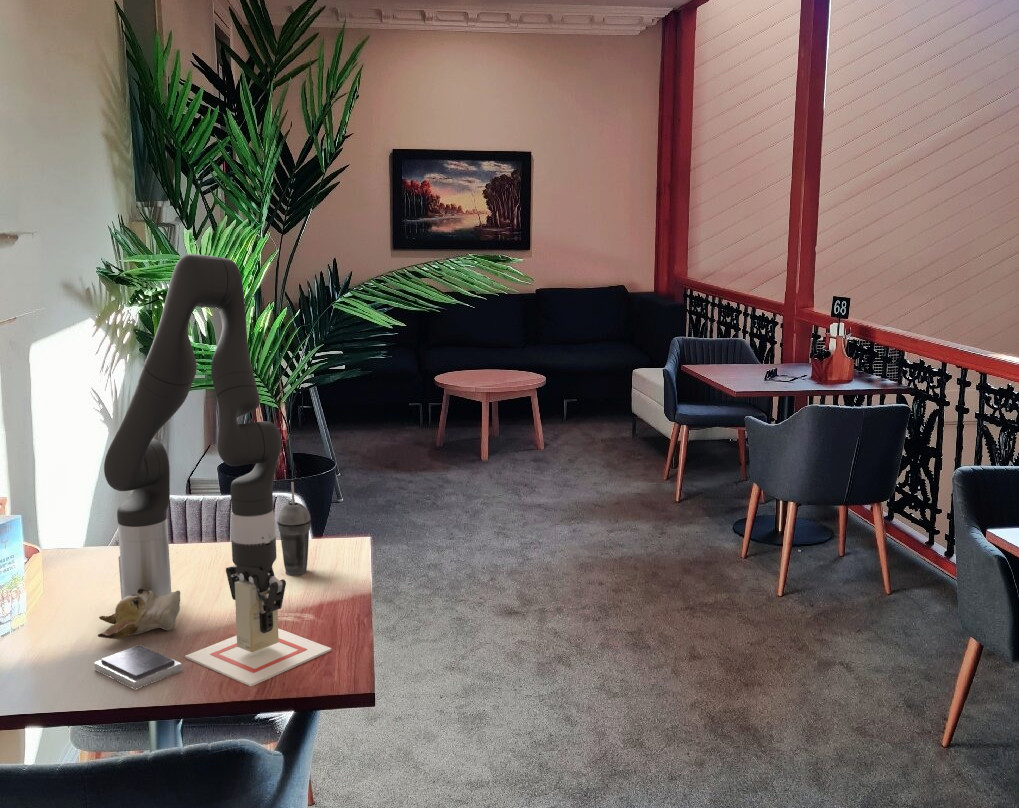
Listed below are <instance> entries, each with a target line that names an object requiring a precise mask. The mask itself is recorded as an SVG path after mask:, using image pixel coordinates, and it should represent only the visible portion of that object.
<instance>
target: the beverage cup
mask: <svg viewBox="0 0 1019 808" xmlns="http://www.w3.org/2000/svg"><path fill="white" fill-rule="evenodd" d="M290 485H291V502H290V503H287V504H285V505H284V506H283V507H282V508H280V511H279V513H278V516H277V521H276V524H277V528H278V531H279V532H278V533H279V534H280V543H281V544H280V545H281V551H282V560H283V565H284V570H285V574H286V575H287V576H293V577H295V576H298V577H299V576H302V575H305V574H306V573H307V572H308V571H307V569H308V559H309V539H310V530H311V524H312V523H311V522H312V519H311V514H310V511H309V510H308V509H307V507H306V506H305V505H304V504H302V503H299V502H296V501H295V485H294V481H291V484H290Z"/></svg>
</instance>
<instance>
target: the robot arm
mask: <svg viewBox="0 0 1019 808" xmlns="http://www.w3.org/2000/svg"><path fill="white" fill-rule="evenodd" d="M243 286H244V285H243V279H242V274H241V272H240V270H239V267H238V265H237V263H236V262H235V261H233V260H232V259H229V258H227V257H224V256H223V257H222V256H215V255H207V254H197V253H187V254H183V255H182V256H181V257H180V258H179V260H178V261H177V262H176V264H175V266H174V268H173V271H172V274H171V277H170V281H169V284H168V289H167V293H166V297H165V301H164V305H163V309H162V313H161V317H160V321H159V323H158V326H157V329H156V333H155V335H154V337H153V341H152V344H151V346H150V349H149V350H148V354H147V356H146V359H145V360H144V364H143V365H142V369H141V372H140V374H139V377H138V381H137V385H136V387H135V391H134V392H133V395H132V397H131V400H130V403H129V405H128V407H127V410H126V413H125V415H124V418H123V419H122V422H121V424H120V425H119V428H118V431H116V434H115V435H114V438H113V440H112V442H111V444H110V445H109V448H108V449H107V453H106V454H105V458H104V463H103V472H104V478H105V480H106V482H107V484H108V486H110V488H112V489H113V490H114V491H119V492H129V491H132V493H131V495H129V496H128V498H127V499H126V500H125V501H124V502H123V503H121V504H120V505H119V507H118V508H117V512H116V517H117V518H116V519H117V529H118V530H117V531H118V533H117V534H118V542H119V543H118V544H119V556H118V570H119V583H120V597H121V600H122V599H123V598H124V597H126V596H132V595H134V594H137V592H138V589H147V590H149V591H152V592H153V593H154V594H155V595H156V596H164V595H166V594H169V593H172V577H171V561H170V545H169V532H168V527H169V526H168V517H167V516H168V515H167V514H168V513H167V512H168V509H169V508H168V507H170V506H169V505H170V501H171V500H170V499H171V497H170V496H171V495H170V494H171V491H170V490H171V489H170V487H171V485H170V484H171V482H170V481H171V479H170V473H171V472H170V469H171V468H170V461H169V456H168V453H167V450H166V448H165V446H164V445H163V443H162V442H160V440H158V439H157V438H154V437H155V436H156V435H157V433H158V432H159V431H160V430H161V428H163V427H164V426H165V424H166V423H168V421H169V420H170V419H171V418H172V417H173V416H174V415H175V414H176V413H177V412H178V411H179V409H180V408H181V407H182V405H183V404H184V403H185V402H186V400H187V397H188V396H189V393H190V390H191V388H192V385H193V382H194V380H195V378H196V375H197V368H198V366H197V365H198V364H197V359H196V355H195V352H194V349H193V346H192V342H191V339H190V336H189V335H190V334H189V326H190V325H189V324H190V320H191V317H192V314H193V312H194V310H195V308H196V307H197V308H198V307H200V308H212V309H217V310H218V313H219V316H220V320H221V325H222V326H221V328H222V329H221V333H220V337H219V340H218V343H217V345H216V348H215V351H214V352H213V356H212V361H211V367H210V370H211V371H210V373H211V374H210V375H211V379H212V380H211V381H212V384H213V387H214V388H213V389H214V392H215V396H216V401H217V406H218V434H217V435H218V436H217V453H218V456H219V457H220V459H221V460H222V461H223V463H225V464H226V465H227V466H229V467H240V466H246V465H253V464H255V465H254V467H253V469H252V470H251V471H250V472H248V473H246V474H244V475H241V476H238V477H236V478H235V479H234V480H232V481H231V484H230V504H231V519H230V536H231V539H230V540H231V555H232V556H231V558H232V562H233V564H234V565H231V566H228V567H225V574H226V579H227V582H228V586H229V590H230V593H231V598H232V600H233V601H235V582H237V581H242V582H245V581H249V582H250V585H254V586H255V587H256V600H257V601H258V603H259V610H260V612H261V613H259V614H260V631H261V632H262V633H266V632H269V631H271V630H272V628H273V611H275V610H278V611H279V610H280V609H282V606H283V601H284V595H285V591H286V585H287V581H286V580H285V579H284V578H283V579H282V578H281V579H280V580H279V579H278V578H277V577H275V572H274V568H273V564H274V563H275V561H276V560H277V558H278V557H277V537H276V536H277V531H276V519H275V512H274V498H273V497H274V495H273V486H274V480H275V474H276V470H277V466H278V464H279V463H278V462H279V458H280V455H281V451H282V437H281V433H280V431H279V429H278V426H276V424H274V423H273V422H270V421H268V420H267V421H255V422H248V423H247V422H246V423H238V422H237V421H238V420H237V419H238V418H239V417H242V416H245V415H248V414H250V413H252V412H254V411H255V410H257V409H258V408H259V406H260V402H261V400H260V394H259V391H258V390H259V389H258V387H257V382H256V378H255V374H254V370H253V367H252V362H251V357H250V352H249V344H248V343H249V342H248V331H247V329H248V328H247V317H246V316H247V315H246V306H245V294H244V287H243ZM267 590H269V592H268V593H266V594H264V595H260V593H262V592H264V591H267ZM265 599H267V605H265V603H264V600H265ZM121 600H120V601H121ZM275 601H276V602H275ZM274 602H275V603H274Z"/></svg>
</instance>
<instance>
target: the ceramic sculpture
mask: <svg viewBox="0 0 1019 808" xmlns="http://www.w3.org/2000/svg"><path fill="white" fill-rule="evenodd" d="M180 603H181V590H179V589H177V590H176V591H173V592H172V591H171V593H169V594H166V595H164V596H156V595H155V594H154V593H153V592H152V591H149V590H147V589H138V592H137V594H134V595H132V596H126V597H124V598H123V599H122V600H120V601H119V602H118V603H117V604H116V607H115V610H114V611H115V612H114V613H113V614H111V615H100V616H99V617H98V618H99V619H100V620H101V621H103V622H106V623H108V624H110V626H109V627H108V628H107V629H106V630H104V632H101V633H99V634H97V637H98V638H102V639H110V640H120V639H125V638H127V637H129V636H131V635H134V636H135V635H139V634H144V633H146V632H148V631H152V630H155V629H158V628H162V629H164V630H165V631H170V630H172V628H173V627H174V626H175V623H176V620H177V617H178V615H179V613H180Z"/></svg>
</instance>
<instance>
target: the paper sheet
mask: <svg viewBox="0 0 1019 808" xmlns="http://www.w3.org/2000/svg"><path fill="white" fill-rule="evenodd" d="M278 637H279V642H278V643H276V644H274V645H271V646H268V647H266V648H263V649H261V650H258V651H255V652H249V651H247V650H244V649H241V648H239V647H237V634H236V635H234V636H231V637H229V638H227V639H224V640H221V641H219V642H217V643H214V644H211V645H209V646H207V647H204V648H201V649H199V650H196V651H194V652H192V653H189V654H186V655H184V657H185V659H187V660H190V661H191V662H193V663H196V664H198V665H200V666H202V667H205V668H207V669H209V670H212V671H214V672H217V673H219V674H221V675H223V676H225V677H228V678H230V679H232V680H234V681H237V682H240V683H242V684H244V685H245V686H249V687H253V686H255V685H256V686H257V685H258V684H260V683H262V682H265V681H267V680H269V679H271V678H274V677H276V676H277V675H280V674H282V673H284V672H287V671H289V670H291V669H293V668H295V667H298V666H300V665H302V664H304V663H307V662H309V661H311V660H313V659H315V658H316V659H317V658H318V657H320V656H322V655H325V654H327V653H329V652H331V651H332V648H331V647H329V646H326V645H323V644H322V643H321V644H320V643H318V642H316V641H313V640H310V639H307V638H305V637H302V636H300V635H298V634H294V633H292V632H289V631H286V630H284V629H281V628H279V627H278Z"/></svg>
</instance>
